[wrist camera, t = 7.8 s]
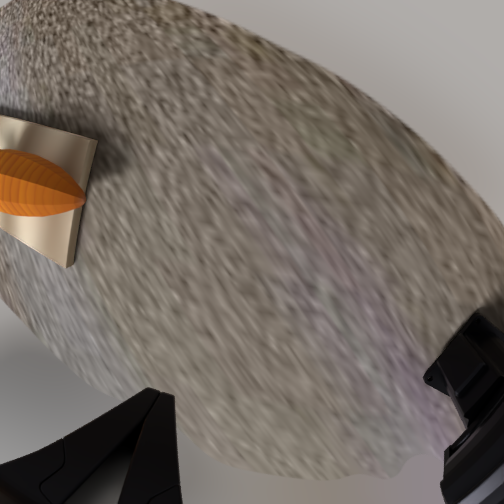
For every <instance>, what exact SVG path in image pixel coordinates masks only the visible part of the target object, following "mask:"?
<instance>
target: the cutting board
mask: <svg viewBox="0 0 504 504" xmlns="http://www.w3.org/2000/svg"><path fill="white" fill-rule="evenodd" d="M97 143H98V141H97V140H94V139H90V138H87V137H84V136H80V135H77V134H73V133H70V132H66V131H63V130H59V129H55V128H52V127H48V126H44V125H41V124H37V123H33V122H29V121H26V120H22V119H18V118H14V117H10V116H6V115H1V114H0V149H13V150H19V151H23V152H27V153H31V154H35V155H38V156H40V157H42V158H44V159H47V160H49V161H50V162H52V163H54V164H56V165H58V166H59V167H61V168H62V169H63V170H64V171H66V172H67V173H68V174H69V175H70V176H71V177H72V178H73V179H74V180H75V181H76V183H77V184H78V185H79V186H80V187H81V189H82V190H83V191H84V193H85V192H86V187H87V183H88V178H89V174H90V170H91V166H92V162H93V158H94V154H95V150H96V146H97ZM82 206H83V205H82ZM82 206H81V207H80V208H77V209H74V210H71V211H68V212H64V213H60V214H55V215H50V216H45V217H27V216H15V215H11V214H7V213H3V212H0V228H2V229H3V230H5V231H6V232H8V233H9V234H11V235H12V236H14V237H15V238H17V239H18V240H20V241H21V242H23V243H25V244H26V245H28V246H29V247H31V248H32V249H34V250H36V251H37V252H39V253H41V254H42V255H44V256H46V257H47V258H49V259H50V260H52V261H54V262H56V263H57V264H59V265H61V266H62V267H64V268H68V267H70V266H72V265H73V263H74V255H75V248H76V241H77V235H78V229H79V223H80V217H81V212H82Z"/></svg>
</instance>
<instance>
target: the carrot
mask: <svg viewBox="0 0 504 504" xmlns="http://www.w3.org/2000/svg"><path fill="white" fill-rule="evenodd" d="M85 202H86V196H85V193H84V191H83V190H82V189H81V187H80V186H79V185H78V184H77V183H76V181H75V180H74V179H73V178H72V177H71V176H70V175H69V174H68V173H67V172H66V171H64V170H63V169H62V168H61V167H59V166H58V165H56V164H54V163H52V162H50V161H49V160H47V159H44V158H42V157H40V156H38V155H35V154H31V153H27V152H23V151H19V150H13V149H0V212H3V213H7V214H11V215H15V216H27V217H45V216H50V215H55V214H60V213H64V212H68V211H71V210H74V209H77V208H80V207H81V206H82V205H83V204H84V203H85Z"/></svg>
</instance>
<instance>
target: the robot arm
mask: <svg viewBox="0 0 504 504" xmlns="http://www.w3.org/2000/svg"><path fill="white" fill-rule="evenodd" d="M476 319H478V321H477V322H475V321H476ZM430 376H432V377H431V378H429V377H430ZM428 378H429V379H428ZM423 379H424V382H425V383H426V384H428V385H429V386H431V387H433V388H435V389H437V390H439V391H440V392H442V393H444V394H446V395H448V396H450V397H451V399H452V401H453V403H454V405H455V407H456V409H457V411H458V414H459V416H460V418H461V420H462V422H463V424H464V426H465V428H466V430H465V431H464V432H463V433H462V435H461V436H460V437H459V438H458V439H457V440H456V441H455V442H454V443H453V444H452V445H450V446H449V447H448V448H447V449H446V450H445V451H444V475H443V480H442V481H441V482H440V488H441V492H442V496H443V498H444V501H445V504H504V334H503V333H502V332H501V331H500V330H499V329H497V328H496V327H495V326H494V325H493V324H492V323H490V322H489V321H488V320H487V319H486V318H484V317H483V316H482V315H481V314H480V313H475V314H474V315H473V316H472V317H471V318H470V319H469V321H468V322H467V323H466V325H465V326H464V327H463V329H462V330H461V331H460V333H459V334H458V335H457V336H456V338H455V339H454V340H453V341H452V343H451V344H450V345H449V346H448V348H447V349H446V350H445V351H444V352H443V354H442V355H441V356H440V357H439V358H438V359H437V361H436V362H435V363H434V364H433V365H432V366H431V367H430V369H429V370H428V371H427V372H426V373H425V374H424V376H423ZM177 450H178V449H177V433H176V414H175V396H174V395H172V394H168V393H165V392H160V391H159V390H156V389H153V388H150V387H148V388H145V389H144V390H142V391H141V392H139V393H137V394H136V395H134V396H132V397H131V398H129V399H128V400H126V401H124V402H123V403H121V404H119V405H118V406H116V407H114V408H113V409H111V410H109V411H108V412H106V413H104V414H103V415H101V416H99V417H98V418H96V419H94V420H93V421H91V422H89V423H88V424H86V425H84V426H83V427H81V428H79V429H77V430H75V431H74V432H72V433H70V434H68V435H67V436H65V437H64V438H63V439H62V438H61V439H59V440H57V441H56V442H54V443H52V444H50V445H48V446H46V447H44V448H42V449H40V450H38V451H35V452H33V453H30V454H28V455H26V456H23V457H20V458H17V459H15V460H12V461H9V462H6V463H3V464H0V504H183V501H182V494H181V486H180V474H179V463H178V451H177Z"/></svg>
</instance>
